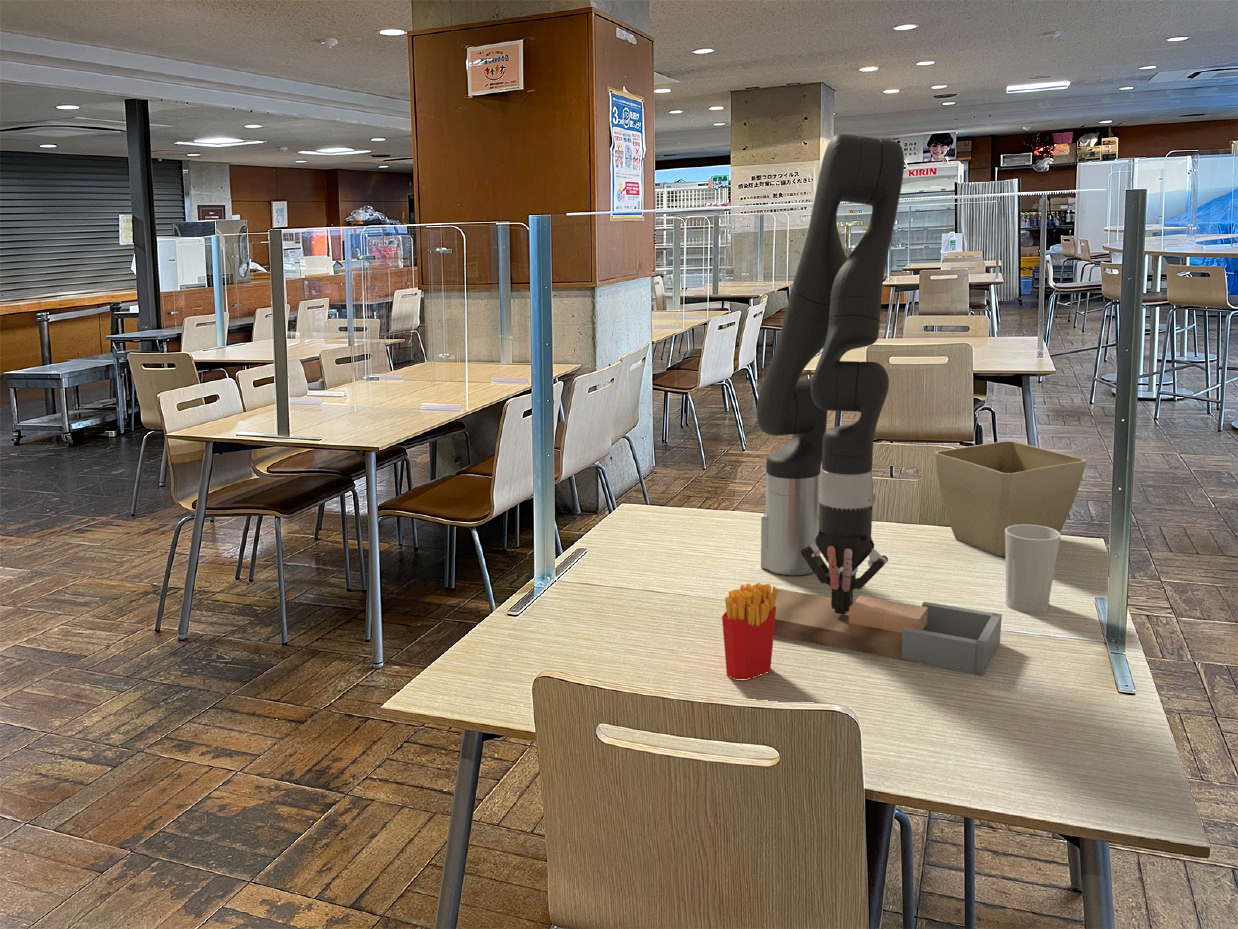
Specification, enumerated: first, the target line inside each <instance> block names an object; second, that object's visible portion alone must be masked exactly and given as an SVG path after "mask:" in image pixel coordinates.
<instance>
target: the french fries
mask: <svg viewBox="0 0 1238 929" xmlns="http://www.w3.org/2000/svg"><path fill="white" fill-rule="evenodd" d="M777 589H778V588H777V587H776V586H775V585H774V586H771V584H770V583H765V584H762V583H760V582H757V583H755V584H753V585H751V584H750V583H745V584H740V588H738V589H732V590H731V591H728V596H727V597H725V598H724V602H725V610H726V611H725V612H724V613H723V614H722V616H721V620H722V631H723V633H722V634H723V645H724V646H723V647H724V655H725V671H726V676H727V675H729V676H731V677H732V678H735V679H748V678H753V677H755V676H758V675H760V674H764V673H766V672H769V673H770V671H771V666H772V657H773V646H774V636H775V635H774V626H775V615H776V606H774V605H775V601H776V597H777V592H778V590H777ZM764 675H765V674H764ZM729 676H728V677H729ZM731 677H730V678H731ZM732 678H731V679H732ZM753 679H754V678H753Z"/></svg>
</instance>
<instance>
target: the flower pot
mask: <svg viewBox="0 0 1238 929" xmlns="http://www.w3.org/2000/svg"><path fill="white" fill-rule="evenodd" d="M934 462H935V468H936V474H937V481H938V485H939V490H940V494H941V498H942V503H943V507H944V509H945V512H946V517H947V519H948V522H949V525H950V529H951V531H952V534H953V536H954V538H955V539H956V540H959V541H960V542H963V543H965V544H969V545H970V546H973V547H976V548H978V549H980V550H983V551H984V552H987V553H989V554H993V555H995V556H997V557H1006V551H1005V529H1006V528H1007V527H1009V526H1013V525H1038V526H1044V527H1048V528H1052V529H1054V530H1057V531H1058V532H1059V533H1060V534H1061V532H1062V529H1063V527H1064V525H1065V524H1066V521H1067V518H1068V517H1069V515H1070V513H1071V510H1072V507H1073V504H1074V502H1075V500H1076V496H1077V494H1078V492H1079V488H1080V486H1081V485H1080V484H1081V483H1082V479H1083V476H1084V472H1085V468H1086V466H1087V460H1086V459H1085V458H1080V457H1077V456H1073V455H1069V454H1065V453H1061V452H1057V451H1054V450H1050V449H1045V448H1042V447H1037V446H1035V445H1030V444H1026V443H1023V442H1017V441H1015V440H1005V441H1004V440H1003V441H996V442H990V443H984V444H977V445H969V446H963V447H956V448H951V449H944V450H943V449H942V450H936V451H934Z"/></svg>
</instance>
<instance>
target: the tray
mask: <svg viewBox="0 0 1238 929" xmlns="http://www.w3.org/2000/svg"><path fill="white" fill-rule="evenodd" d="M921 606H923V607H928V616H927V624H926V626H925V627H924V629H923V630H918V629H912V628H907V627H904V629H903V630H902V646H901V661H906V662H910V663H915V664H916V663H917V664H921V665H925V666H926V665H927V666H931V667H936V668H942V669H945V670H952V671H956V672H962V673H967V674H972V675H978V676H984V674H985V672H986V671H987V669H988V667H989V665H990V663H991V661H992V659H993V657H994V655H995V653H996V652H997V649H998V648H999V645H1000V643H1001V631H1002V616H1003V614H1002V613H995V612H991V611H990V612H989V611H985V610H984V611H983V610H978V609H977V610H976V609H971V608H965V607H959V606H953V605H947V604H943V603H942V604H940V603H936V602H929V601H923V602H922V604H921Z"/></svg>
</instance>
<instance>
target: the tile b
mask: <svg viewBox="0 0 1238 929" xmlns="http://www.w3.org/2000/svg"><path fill="white" fill-rule="evenodd" d="M927 616H928V607H923V606H922V605H917V604H916V605H915V604H910V603H905V602H898V601H893V602H892V604H891V605H890V606H889V607H888V609H887V610H886V611H885V612H884V618H883V630H889V631H894V632H900V633H902V630H903V629H904V627H907V628H912V629H918V630H923V629H924V627H925V626H926V624H927Z"/></svg>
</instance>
